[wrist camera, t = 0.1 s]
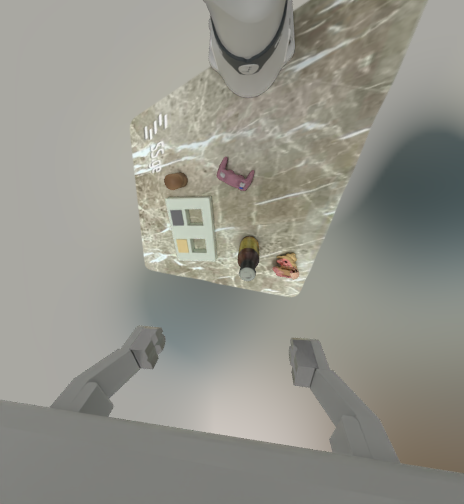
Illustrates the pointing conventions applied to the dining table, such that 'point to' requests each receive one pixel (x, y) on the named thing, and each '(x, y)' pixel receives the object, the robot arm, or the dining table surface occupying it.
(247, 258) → the sauce bottle
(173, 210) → the socket block
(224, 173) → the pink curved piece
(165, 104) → the dining table surface
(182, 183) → the plug
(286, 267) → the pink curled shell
